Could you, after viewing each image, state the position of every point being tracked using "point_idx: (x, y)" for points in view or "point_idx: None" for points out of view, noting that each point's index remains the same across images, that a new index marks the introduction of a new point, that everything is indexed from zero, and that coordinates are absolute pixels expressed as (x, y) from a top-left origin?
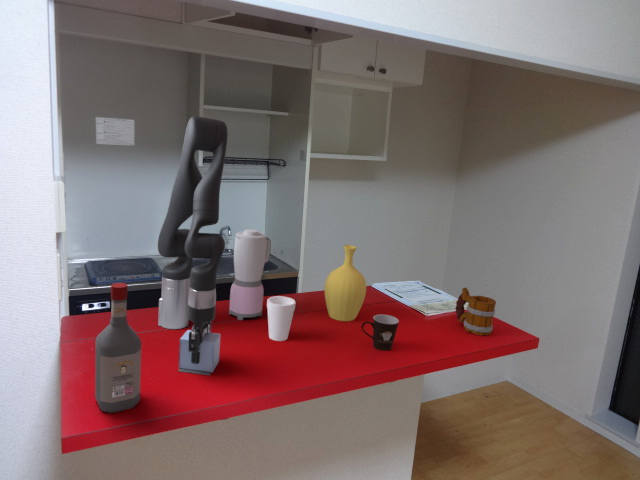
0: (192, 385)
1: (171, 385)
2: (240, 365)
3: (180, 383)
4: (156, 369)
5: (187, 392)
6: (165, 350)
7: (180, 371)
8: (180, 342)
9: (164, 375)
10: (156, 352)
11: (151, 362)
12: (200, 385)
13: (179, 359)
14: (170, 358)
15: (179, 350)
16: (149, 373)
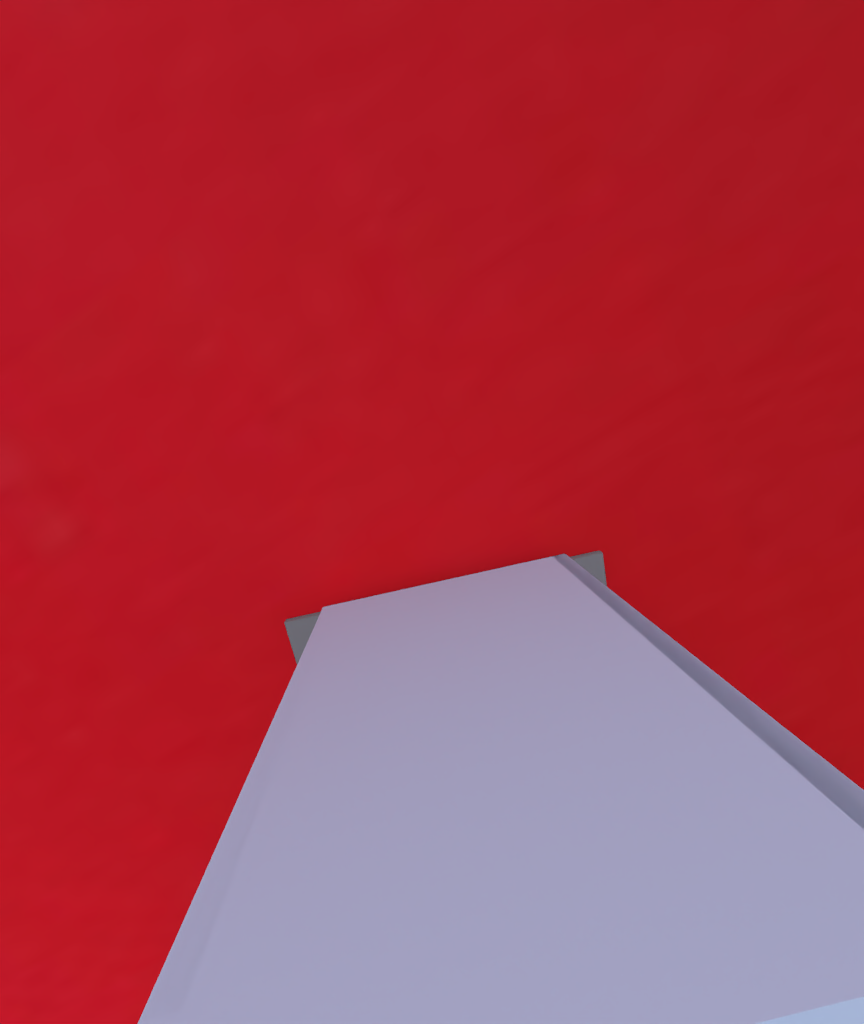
0: (137, 846)
1: (24, 709)
2: None
3: (105, 753)
4: (204, 403)
5: (14, 871)
6: (662, 220)
7: (292, 642)
8: (166, 998)
9: (143, 551)
10: (572, 142)
11: (315, 248)
12: (176, 892)
13: (302, 665)
14: (501, 394)
15: (253, 765)
16: (85, 388)
